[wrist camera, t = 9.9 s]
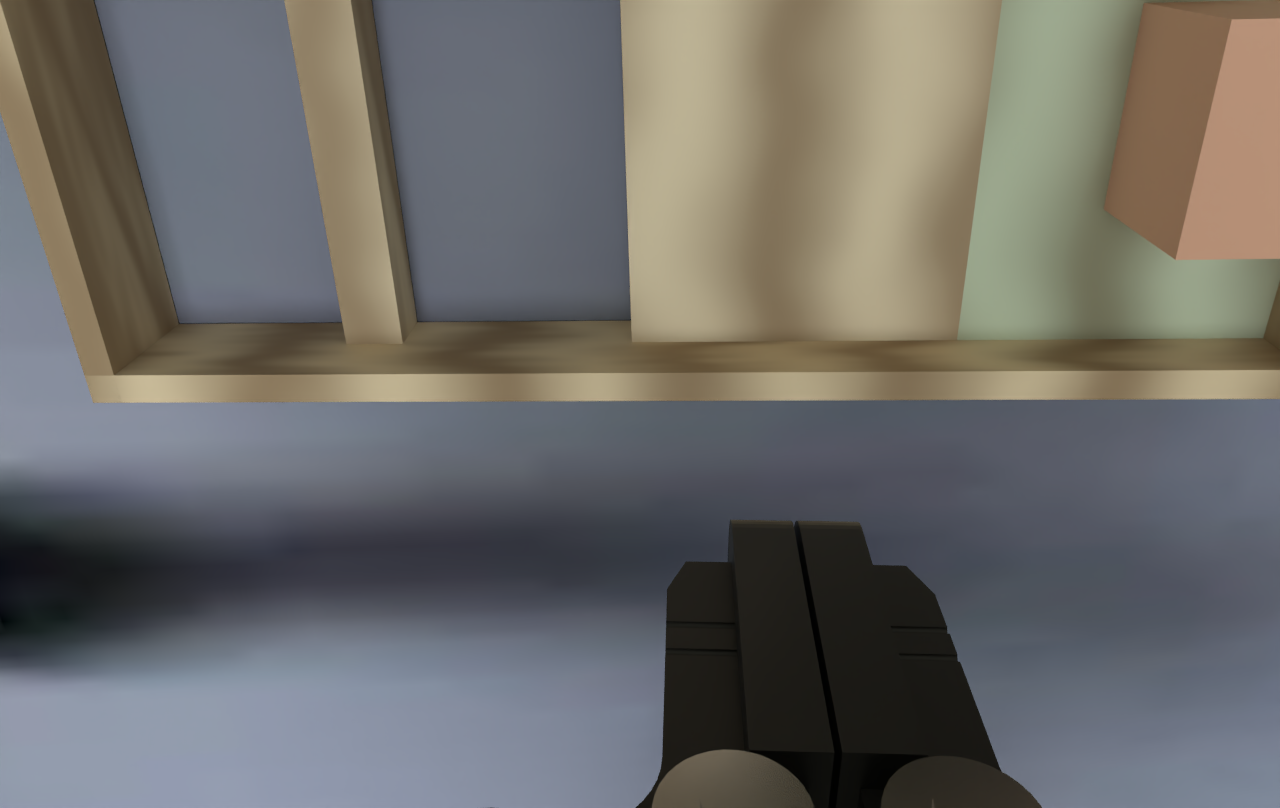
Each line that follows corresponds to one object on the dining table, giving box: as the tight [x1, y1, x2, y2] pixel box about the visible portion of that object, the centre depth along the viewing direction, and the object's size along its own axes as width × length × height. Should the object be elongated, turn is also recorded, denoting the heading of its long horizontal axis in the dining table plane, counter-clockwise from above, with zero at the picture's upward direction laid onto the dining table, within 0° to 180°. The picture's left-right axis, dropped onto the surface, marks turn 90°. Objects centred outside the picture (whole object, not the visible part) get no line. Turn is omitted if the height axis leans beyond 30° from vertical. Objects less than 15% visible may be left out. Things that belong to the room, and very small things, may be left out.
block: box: [1104, 0, 1280, 260], centre depth 26 cm, size 6×6×5 cm
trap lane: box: [0, 0, 1280, 403], centre depth 29 cm, size 40×16×4 cm, turn 92°
